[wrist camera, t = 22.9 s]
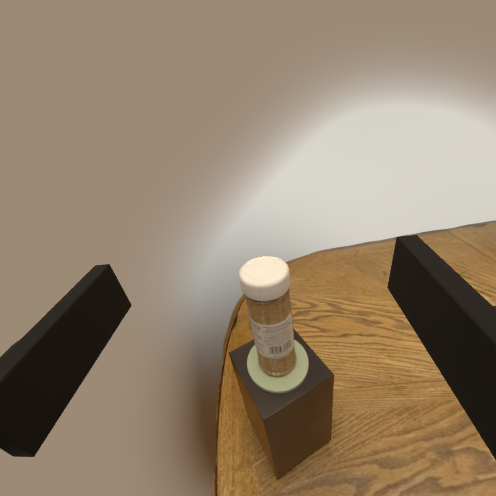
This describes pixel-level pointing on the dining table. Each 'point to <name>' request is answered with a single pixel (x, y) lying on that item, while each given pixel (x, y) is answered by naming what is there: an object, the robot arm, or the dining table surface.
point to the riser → (288, 411)
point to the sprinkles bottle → (270, 313)
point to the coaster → (281, 382)
